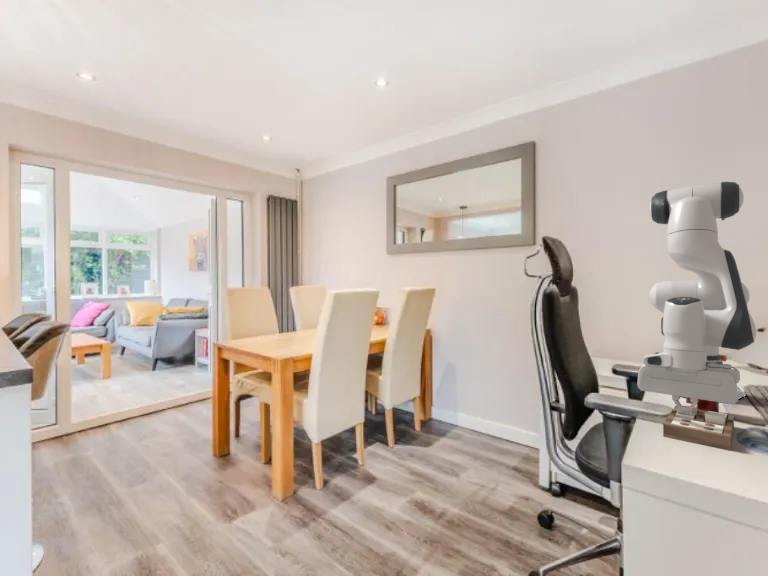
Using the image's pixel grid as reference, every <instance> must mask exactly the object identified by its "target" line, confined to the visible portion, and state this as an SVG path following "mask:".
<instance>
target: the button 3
mask: <svg viewBox="0 0 768 576" xmlns="http://www.w3.org/2000/svg"><path fill="white" fill-rule="evenodd" d="M721 413H722V412H719V413H715V412H709V411H706V413H705V422H710V423H715V424H721V425H726V421H725V414H726V413H723V414H721Z"/></svg>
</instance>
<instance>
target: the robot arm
mask: <svg viewBox="0 0 768 576" xmlns="http://www.w3.org/2000/svg"><path fill="white" fill-rule="evenodd" d="M743 204H744V192H743V190H742V188H740V184H738V183H737V182H733V181H721V182H720V183H719V182H718V183H717V182H715V183H714V182H713V183H701V184H694V185H690V186H684V187H683V186H682V187H680V188H674V189H671V190H662V191H658V192H656V193H655V194H654V195H653V196H652V197H651V200H650V202H649V206H648V213H649V215H650V217H651V220H652V221H653V222H654V223H656V224H659V225H667V227H666V228H667V229H666V230H667V231H666V250H667V254H668V256H669V257H670V258H671V259H672V260H673V261H674V263H675V264H676V265H677V266H678V267H679V268H682V269H683V270H686V271H688V272H692V273H694V274H696V275H697V276H698V277H699V278H697V279H674V280H673V279H669V280H664V281H660V282H656V283H654V284H653V285H652V287H651V289H650V290H649V301H650V303H651V305H652V306H653V307H654V308H655V309H656V310H657V311H659V312H661V313H662V315H663V316H662V317H661V321H660V325H661V326H660V327H661V328H660V329H661V331H660V332H661V334H662V336H663V337H664V342H663V344H662V351H658V352H655V353H649V354H646V355H644V356H642V359H641V360H642V363H643V365H641V366H640V368H639V370H638V375H637V383H636V384H637V388H638V390H640V391H642V392H648V393H655V394H663V395H668V396H671V400H672V401H673V403H674V404H675V406H677V407H678V413H680V414H686V415H691V416H692V415H693V408H694V407H695V405H696V404H697V403H698V399H702V400H708V401H715V402H719V403H723V404H730V405H735V404H737V402H739V400H738V397H741V396H744V395H745V394H747V393H746V392H743V391H740V390H739V388H738V385H737V384H738V383H739V382H740V381H741V373H740V371H739V369H738V368H736V367H735V366H732V364H728V363H723V362H727V360H728V357H727V355H725V354H723V355H721V354H720V348H722V349H729V350H730V349H731V350H736V351H740V350H743V349H746V348H747V347H749V346H750V345H752V344H753V343H755V339H756V336H757V328H756V327H757V326H756V323H755V320H753V317H752V315H751V314H750V311H749V309H748V303H749V301H750V291H749V288H748V287H747V286H746V284H744V283H743V282H742V279H741V276H740V272H739V269H738V265H737V262H736V259H735V256H734V254H733V253H732V252H731V251H730V250H728V249H725V248H723V247H722V246H721V244H720V243H719V237H718V236H719V234H718V233H719V232H718V231H719V230H718V222H717V219H721V221H722V222H723V221H725V219H729V218H731V217H733V216H735V215H736V214H738V212H740V209H741V208H742V206H743ZM681 397H683V398H686V397H688V398H690V402H693V403H692V404H691V406H690V407H686V406H682V405H681V404H680V402H681V401H680V399H681Z"/></svg>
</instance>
